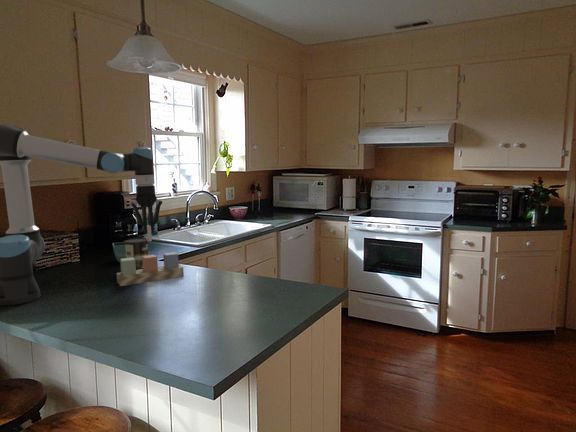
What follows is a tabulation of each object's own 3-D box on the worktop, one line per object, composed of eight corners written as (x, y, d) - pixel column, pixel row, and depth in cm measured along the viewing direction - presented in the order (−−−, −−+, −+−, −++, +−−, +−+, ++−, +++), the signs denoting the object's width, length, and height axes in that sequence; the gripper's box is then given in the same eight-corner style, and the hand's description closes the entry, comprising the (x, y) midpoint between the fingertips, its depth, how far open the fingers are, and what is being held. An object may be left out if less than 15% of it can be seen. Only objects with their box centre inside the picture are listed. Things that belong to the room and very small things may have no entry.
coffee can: (152, 267, 210) (150, 238, 208) (145, 272, 199) (143, 242, 198) (131, 267, 210) (129, 238, 208) (122, 273, 200) (120, 242, 198)
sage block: (123, 277, 180) (122, 261, 179) (121, 275, 184) (120, 258, 183) (136, 275, 182) (135, 259, 181) (133, 273, 187) (132, 257, 186)
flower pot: (113, 260, 226) (112, 243, 225) (131, 258, 230) (130, 241, 229) (114, 263, 218) (113, 245, 217) (133, 261, 222) (132, 244, 221)
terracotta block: (146, 274, 184) (145, 258, 184) (143, 272, 189) (142, 256, 188) (158, 272, 187) (157, 256, 186) (155, 270, 191) (154, 254, 190)
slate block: (167, 271, 189) (166, 255, 188) (164, 268, 193) (163, 253, 192) (178, 269, 192) (178, 253, 191) (175, 267, 196) (174, 251, 195)
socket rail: (120, 286, 178) (119, 276, 178) (117, 282, 184) (116, 273, 184) (183, 276, 192) (183, 267, 191) (178, 272, 198) (178, 264, 197)
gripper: (130, 186, 176) (135, 244, 180) (163, 184, 183) (167, 240, 186) (127, 185, 183) (131, 241, 186) (158, 184, 189) (162, 237, 193)
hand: (149, 240), depth 186 cm, fingers closed
